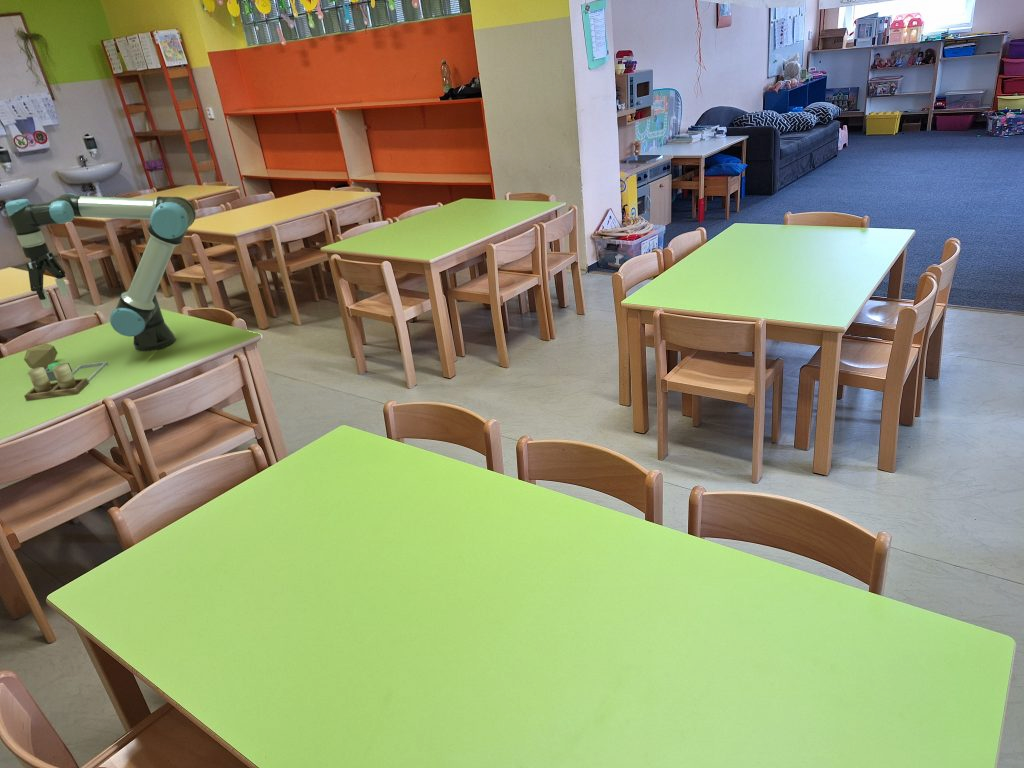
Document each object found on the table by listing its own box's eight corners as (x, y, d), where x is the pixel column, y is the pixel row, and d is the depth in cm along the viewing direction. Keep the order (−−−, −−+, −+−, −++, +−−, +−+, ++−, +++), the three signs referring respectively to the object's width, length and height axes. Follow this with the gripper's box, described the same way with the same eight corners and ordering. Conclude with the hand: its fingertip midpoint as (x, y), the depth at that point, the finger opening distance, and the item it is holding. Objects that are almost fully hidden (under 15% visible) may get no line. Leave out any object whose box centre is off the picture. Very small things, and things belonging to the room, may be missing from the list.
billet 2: (80, 386, 255) (71, 363, 251) (74, 392, 250) (64, 369, 246) (66, 387, 255) (56, 365, 251) (59, 394, 250) (49, 371, 246)
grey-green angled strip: (108, 365, 273) (107, 361, 272) (90, 383, 258) (88, 379, 257) (81, 369, 273) (79, 365, 272) (60, 387, 258) (59, 383, 257)
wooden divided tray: (89, 385, 257) (86, 377, 256) (78, 396, 249) (75, 388, 248) (40, 391, 256) (37, 384, 255) (27, 403, 248) (24, 395, 247)
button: (66, 374, 267) (60, 361, 265) (61, 379, 264) (55, 365, 262) (56, 376, 267) (50, 362, 265) (51, 380, 264) (45, 367, 262)
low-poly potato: (43, 377, 270) (67, 354, 274) (16, 358, 265) (41, 335, 269) (42, 376, 282) (65, 355, 286) (17, 358, 277) (40, 336, 281)
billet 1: (56, 389, 254) (46, 366, 250) (49, 395, 250) (39, 372, 246) (42, 391, 254) (32, 368, 250) (35, 397, 250) (24, 374, 246)
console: (73, 373, 269) (68, 362, 267) (64, 381, 263) (59, 370, 261) (54, 376, 269) (49, 365, 267) (45, 384, 263) (40, 373, 261)
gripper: (40, 237, 264) (62, 291, 273) (3, 255, 242) (29, 314, 251) (61, 234, 264) (82, 289, 274) (26, 252, 242) (50, 311, 251)
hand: (56, 301), depth 262 cm, fingers open, 13 cm apart
